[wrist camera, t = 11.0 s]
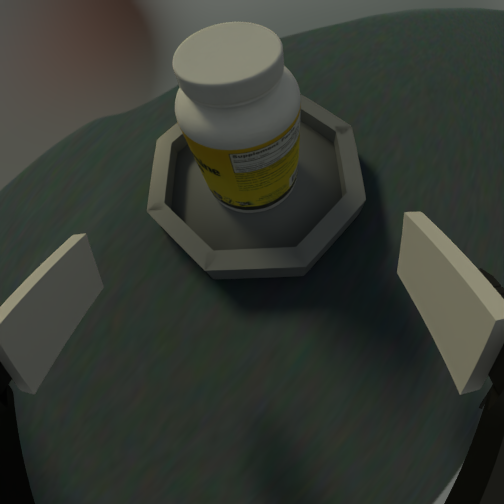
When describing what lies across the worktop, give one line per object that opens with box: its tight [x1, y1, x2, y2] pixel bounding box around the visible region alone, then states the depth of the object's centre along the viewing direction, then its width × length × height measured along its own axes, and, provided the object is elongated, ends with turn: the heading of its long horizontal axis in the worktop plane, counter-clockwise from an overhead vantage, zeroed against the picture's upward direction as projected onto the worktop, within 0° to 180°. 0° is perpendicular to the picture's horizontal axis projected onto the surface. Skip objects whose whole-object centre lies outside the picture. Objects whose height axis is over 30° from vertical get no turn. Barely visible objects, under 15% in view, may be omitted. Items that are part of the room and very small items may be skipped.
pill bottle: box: [173, 22, 301, 213], centre depth 17 cm, size 6×6×11 cm
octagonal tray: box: [147, 94, 366, 279], centre depth 22 cm, size 14×14×2 cm
